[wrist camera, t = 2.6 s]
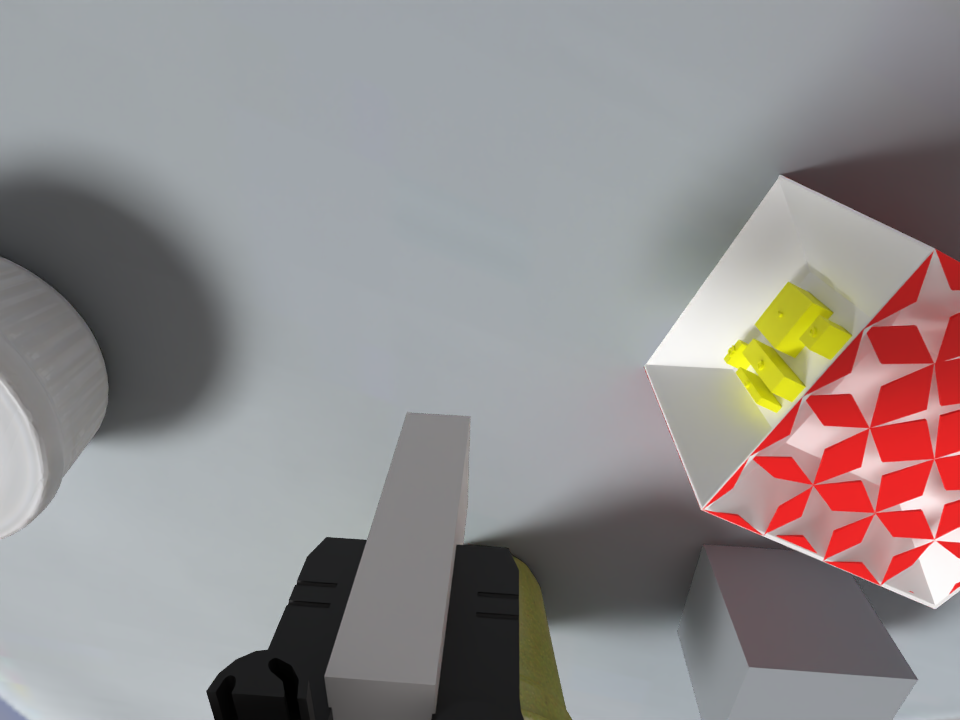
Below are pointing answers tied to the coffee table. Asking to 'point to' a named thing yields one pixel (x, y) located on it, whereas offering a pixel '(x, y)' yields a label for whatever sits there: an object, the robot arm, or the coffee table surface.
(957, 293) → the puzzle cube
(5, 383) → the ramekin
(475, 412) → the coffee table surface
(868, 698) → the slate grey block
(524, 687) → the plant pot
